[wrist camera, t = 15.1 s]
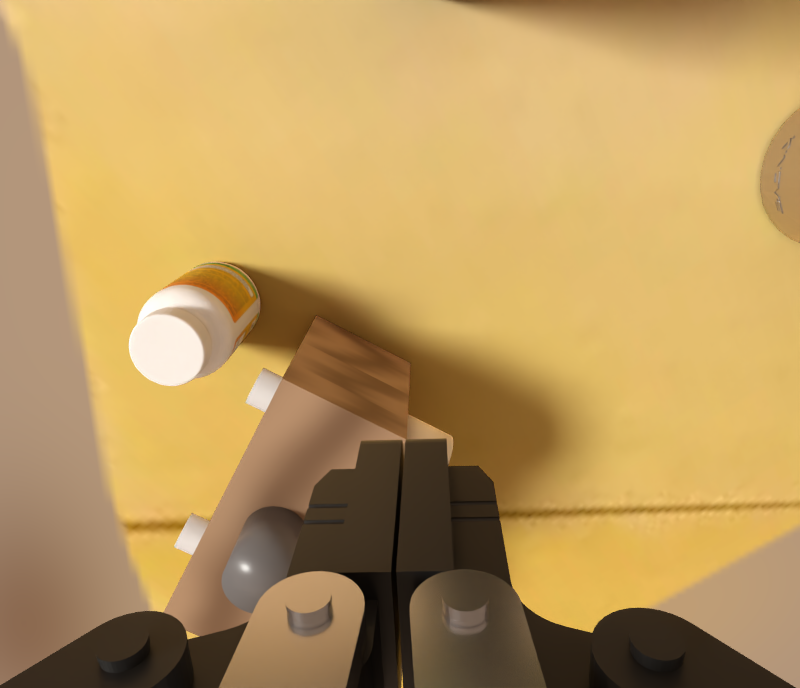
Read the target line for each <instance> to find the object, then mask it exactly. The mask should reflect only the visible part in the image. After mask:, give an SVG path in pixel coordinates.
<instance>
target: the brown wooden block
mask: <svg viewBox="0 0 800 688" xmlns="http://www.w3.org/2000/svg"><path fill="white" fill-rule="evenodd" d="M410 366H411V363H409V362H407V361H405V360H403V359H402V358H400V357H398V356H396V355H394V354H392V353H390V352H388V351H386V350H384V349H382V348H380V347H378V346H376V345H374V344H372V343H370V342H368V341H366V340H364V339H362V338H360V337H358V336H356V335H354V334H352V333H350V332H348V331H346V330H344V329H343V328H341V327H339V326H337V325H335V324H333V323H331V322H329V321H327V320H325V319H323V318H321V317H319V316H317V315H316V317H315V319H314V321H313V322H312V324H311V326H310V328H309V330H308V332H307V334H306V335H305V337H304V339H303V341H302V343H301V345H300V347H299V348H298V350H297V352H296V354H295V356H294V358H293V360H292V361H291V363H290V365H289V367H288V369H287V371H286V373H285V374H284V376H283V378H282V380H281V382H280V384H279V386H278V388H277V390H276V392H275V394H274V396H273V398H272V400H271V402H270V404H269V406H268V408H267V410H266V412H265V414H264V416H263V417H262V419H261V421H260V423H259V425H258V427H257V429H256V431H255V433H254V435H253V437H252V439H251V441H250V443H249V445H248V447H247V449H246V451H245V453H244V455H243V457H242V459H241V461H240V463H239V465H238V467H237V469H236V471H235V473H234V475H233V477H232V479H231V481H230V483H229V484H228V486H227V488H226V490H225V492H224V494H223V496H222V498H221V500H220V502H219V504H218V506H217V508H216V510H215V512H214V514H213V516H212V518H211V520H210V522H209V524H208V526H207V528H206V530H205V532H204V534H203V536H202V538H201V540H200V542H199V544H198V546H197V548H196V550H195V551H194V553H193V555H192V557H191V559H190V561H189V563H188V565H187V567H186V569H185V571H184V573H183V575H182V577H181V579H180V581H179V583H178V585H177V587H176V589H175V591H174V593H173V595H172V597H171V599H170V601H169V603H168V605H167V607H166V609H165V611H164V613H166V614H169V615H172V616H173V617H175V618H177V619H178V620H179V621H180V622H181V623H182V624H183V626H184V628H185V630H186V631H189V632H191V633H193V634H196V635H198V636H204V635H208V634H212V633H216V632H219V631H223V630H227V629H230V628H233V627H236V626H239V625H241V624H243V623H246V622H248V621H249V620H250V618H251V616H252V613H248V612H246V611H243V610H241V609H239V608H238V607H236V606H235V605H234V604H232V603H231V602H230V601H229V599H228V598H227V597H226V595H225V593H224V591H223V588H222V574H223V572H224V569H225V567H226V565H227V562H228V560H229V558H230V556H231V553H232V551H233V549H234V546H235V544H236V542H237V540H238V537H239V535H240V533H241V531H242V528H243V526H244V524H245V521H246V520H247V518H248V517H249V516H250V515H251V514H252V513H253V512H255V511H256V510H258V509H261V508H264V507H269V506H277V507H283V508H286V509H289V510H291V511H293V512H294V513H296V514H297V515H298V516H299V517H301V519H302V520H303V521H304V518H305V515H306V511H307V508H309V502H310V498H311V495H312V492H313V489H314V486H315V485H316V484H317V483H318V482H319V481H320V480H321V479H322V478H323V477H324V476H325V475H326V474H327V473H328V472H329V471H330V470H331V469H355V467H356V462H357V457H358V452H359V448H360V443H361V441H366V440H403V445H404V444H405V441H406V439H407V425H408V405H409V385H410Z"/></svg>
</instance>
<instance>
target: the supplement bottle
mask: <svg viewBox="0 0 800 688" xmlns="http://www.w3.org/2000/svg"><path fill="white" fill-rule="evenodd" d="M259 314H260V297H259V293H258V290H257V288H256V286H255V284H254V283H253V281H252V280H251V279H250V277H249V276H248V275H247V274H246V273H245V272H243V271H242V270H241V269H239V268H237V267H236V266H233V265H231V264H228V263H223V262H208V263H204V264H201V265H198V266H196V267H194V268H193V269H191V270H190V271H188V272H187V273H185V274H184V275H182V276H181V277H180V278H178V279H177V280H175V281H174V282H172V283H171V284H169V285H168V286H166V287H165V288H163V289H162V290H160V291H159V292H157V293H156V294H154V295H153V296H152V297H151V298H150V299H149V300H148V301H147V302H146V303H145V305H144V306H143V308H142V310H141V312H140V314H139V318H138V323H137V325H136V326H135V327H134V329H133V331H132V333H131V335H130V340H129V351H130V355H131V358H132V361H133V363H134V364H135V366H136V368H137V369H138V370H139V371H140V372H141V373H142V374H143V375H144V376H145V377H147V378H148V379H150V380H151V381H153V382H155V383H158V384H161V385H166V386H177V385H182V384H185V383H187V382H189V381H191V380H193V379H194V378H200V377H204V376H207V375H209V374H211V373H213V372H215V371H216V370H218V369H219V368H220V367H221V366H222V365H223V364H224V363H225V362H226V361H227V360H228V359H229V357H230V356H231V355H232V354H233V352H234V351H235V350H236V349H237V348H238V346H239V345H240V344H241V342H242V341H243V340H244V339H245V337H246V336H247V335H248V334H249V332H250V331H251V330H252V329H253V327H254V325H255V324H256V322H257V320H258V317H259Z"/></svg>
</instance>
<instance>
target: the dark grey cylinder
mask: <svg viewBox="0 0 800 688" xmlns="http://www.w3.org/2000/svg"><path fill="white" fill-rule="evenodd" d="M302 524H304V521H303V520H302V519H301V517H299V516H298V515H297V514H296V513H294V512H293V511H291V510H289V509H286V508H283V507H277V506H269V507H264V508H261V509H258V510H256V511H255V512H253V513H252V514H251V515H250V516H249V517H248V518H247V520H246V521H245V524H244V526H243V528H242V531H241V533H240V535H239V537H238V540H237V542H236V544H235V546H234V549H233V551H232V553H231V556H230V558H229V560H228V562H227V565H226V567H225V569H224V572H223V574H222V588H223V591H224V593H225V595H226V597H227V598H228V599H229V601H230V602H231V603H232V604H234V605H235V606H236V607H238V608H239V609H241V610H243V611H246V612H248V613H253V611H254V609H255V607H256V605H257V603H258V601H259V599H260V598H261V597H262V596H263V594H264V593H265V592H266V591H267V590H269V589H270V588H271V587H272V586H274V585H275V584H277V583H278V582H280V581H282V580H284V579H286V577H287V573H288V570H289V567H290V564H291V560H292V557H293V554H294V551H295V547H296V544H297V541H298V538H299V534H300V531H301V528H302Z"/></svg>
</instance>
